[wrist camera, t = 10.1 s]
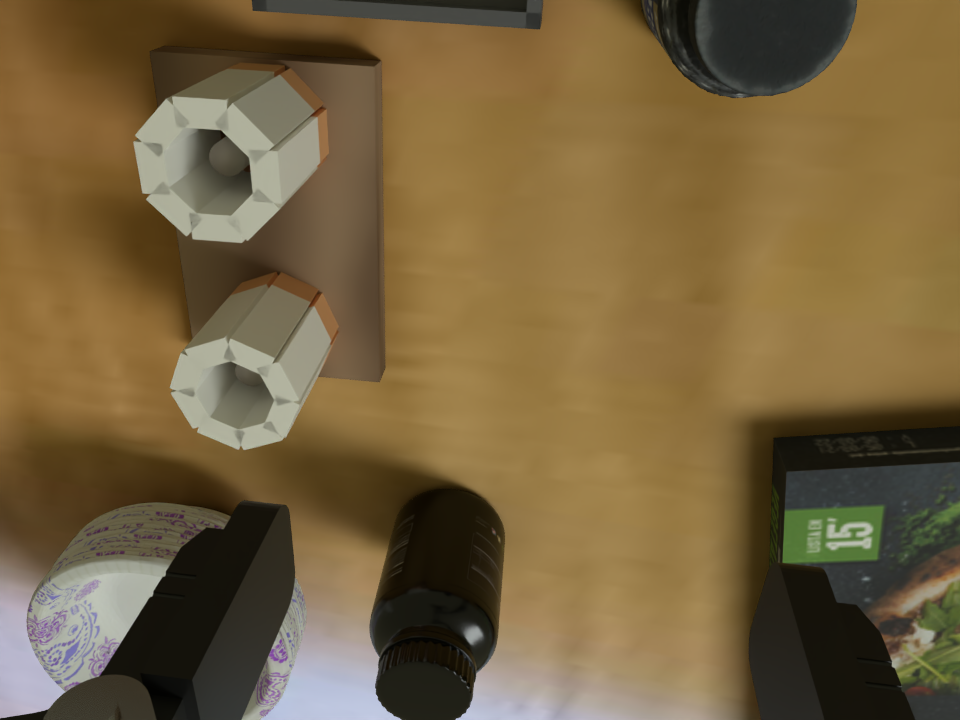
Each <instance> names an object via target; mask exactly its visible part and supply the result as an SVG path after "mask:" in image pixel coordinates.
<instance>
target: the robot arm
mask: <svg viewBox="0 0 960 720" xmlns="http://www.w3.org/2000/svg"><path fill="white" fill-rule="evenodd" d="M294 583H295V565H294V554H293V544H292V533H291V523H290V513H289V509H288V507H287V506H286V505H281V504H272V503H263V502H254V501H245V500H244V501H241V502H240V503H239V504H238V506H237V507H236V509H235V510H234V512H233V514H232V516H231V517H230V519H229V521H228V522H227V524H226V526H225V528H224V529H217V528H208V527H206V528H205V529H204V530H202V531H201V532H200V533H199V534H197V535H196V536H195V537H194V538H192V539H191V540H190V541H188V542H187V543H186V544H185V545H183V546H182V547H181V548H180V550H179V551H178V553H177V555H176V556H175V558H174V559H173V561H172V563H171V564H170V566H169V567H168V569H167V570H166V575H165V577H162V578H161V580H160V582H159V583H158V585H157V586H156V588H155V589H154V591H153V596H152V597H149V599H148V601H147V602H146V604H145V605H144V607H143V608H142V610H141V612H140V613H139V615H138V616H137V618H136V620H135V621H134V623H133V624H132V626H131V627H130V629H129V631H128V632H127V634H126V635H125V637H124V639H123V640H122V642H121V643H120V645H119V647H118V648H117V650H116V651H115V653H114V654H113V656H112V658H111V659H110V661H109V662H108V664H107V666H106V667H105V669H104V670H103V671H102V673H101V674H100V676H99V677H95V678H92V679H89V680H86V681H84V682H82V683H79V684H78V685H76V686H74V687H73V688H71V689H69V690H68V691H67V692H65V693H64V694H63V695H62V696H60V697H59V698H58V699H57V700H56V701H55V702H54V703H53V705H52V706H51V707H50V708H49V709H48V710H45V711H41V712H36V713H32V714H25V715H19V716H13V717H7V718H0V720H242V717H243V715H244V713H245V710H246V708H247V706H248V703H249V701H250V698H251V696H252V694H253V691H254V689H255V687H256V684H257V682H258V680H259V677H260V675H261V672H262V670H263V668H264V665H265V663H266V661H267V658H268V656H269V654H270V651H271V649H272V647H273V644H274V642H275V639H276V637H277V635H278V632H279V630H280V628H281V625H282V623H283V621H284V618H285V616H286V614H287V611H288V609H289V606H290V603H291V599H292V595H293V590H294ZM749 662H750V668H751V673H752V678H753V683H754V687H755V692H756V697H757V702H758V706H759V711H760V716H761V720H915V717H914V715H913V712H912V710H911V707H910V705H909V702H908V700H907V697H906V695H905V692H902V685H901V682H900V680H899V677H898V675H897V672H896V670H895V668H894V667H892V660H891V657H890V655H889V652H888V650H887V647H886V645H885V642H884V640H883V637H882V635H881V632H880V631H879V630H878V629H877V628H876V627H875V625H874V624H873V623H872V622H871V621H870V620H869V619H868V617H867V616H866V615H865V614H864V613H863V612H862V611H861V609H860V608H859V607H858V606H857V605H855V604H847V603H838V602H837V601H836V599H835V596H834V593H833V590H832V587H831V585H830V582H829V579H828V576H827V574H826V572H825V570H824V569H823V568H821V567H814V566H805V565H797V564H788V563H779V562H773V563H772V564H771V566H770V568H769V570H768V573H767V576H766V580H765V583H764V586H763V589H762V593H761V596H760V599H759V603H758V606H757V609H756V613H755V616H754V619H753V623H752V626H751V630H750V637H749Z"/></svg>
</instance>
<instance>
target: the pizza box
mask: <svg viewBox="0 0 960 720" xmlns="http://www.w3.org/2000/svg"><path fill="white" fill-rule="evenodd" d="M773 562H779V563H788V564H797V565H805V566H814V567H821V568H823V569H824V570H825V572H826V574H827V576H828V579H829V582H830V585H831V587H832V590H833V593H834V596H835V599H836V601H837V602H838V603H847V604H855V605H857V606H858V607H859V608H860V609H861V611H862V612H863V613H864V614H865V615H866V616H867V617H868V619H869V620H870V621H871V622H872V623H873V624H874V625H875V627H876V628H877V629H878V630H879V631H880V632H881V635H882V637H883V640H884V642H885V645H886V647H887V650H888V652H889V655H890V657H891V660H892V667H894V668H895V670H896V672H897V675H898V677H899V680H900V682H901V685H902V692H905V695H906V697H907V700H908V702H909V705H910V707H911V710H912V712H913V715H914V717H915V720H960V426H955V427H939V428H923V429H908V430H892V431H876V432H860V433H844V434H828V435H813V436H797V437H781V438H774V445H773V473H772V502H771V531H770V560H769V568H770V566H771V564H772V563H773Z"/></svg>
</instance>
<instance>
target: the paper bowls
mask: <svg viewBox="0 0 960 720" xmlns="http://www.w3.org/2000/svg"><path fill="white" fill-rule="evenodd" d="M230 517H231V516H228V515H226V514H224V513H221V512H218V511H215V510H211V509H207V508H203V507H196V506H186V505H180V504H172V503H159V502H153V503H140V504H135V505H130V506H125V507H121V508H118V509H115V510H113V511H110V512H107V513H105V514H103V515H101V516H99V517H97V518H96V519H94V520H93V521H91V522H90V523H88V524H87V525H86V526H85V527H84V528H83V529H82V530H80V532H79V533H78V534H77V535H76V536H75V537H74V538H73V540H72V541H71V542H70V544H69V545H68V546H67V548H66V549H65V550H64V551H63V553H62V554H61V555H60V557H58V559H57V561H56V562H55V563H54V565H53V567H52V569H51V570H50V571H49V573H48V574H47V575H46V576H45V578H44V579H43V580H42V581H41V583H40V584H39V585H38V587H37V589H36V590H35V592H34V594H33V596H32V599H31V602H30V604H29V608H28V613H27V631H28V636H29V639H30V642H31V645H32V648H33V650H34V652H35V655H36V656H37V658H38V660H39V662H40V664H41V665H42V666H43V667H44V670H45V671H46V672H47V673H48V674H49V676H50V677H51V678H52V679H53V680H54V681H55V682H56V683H57V684H58V685H59V686H60V687H61V688H62V689H63V690H64V691H65V692H67V691H68V690H69V689H71V688H73V687H74V686H76V685H78V684H79V683H82V682H84V681H86V680H89V679H92V678H95V677H99V676H100V674H101V673H102V671H103V670H104V669H105V667H106V666H107V664H108V662H109V661H110V659H111V658H112V656H113V654H114V653H115V651H116V650H117V648H118V647H119V645H120V643H121V642H122V640H123V639H124V637H125V635H126V634H127V632H128V631H129V629H130V627H131V626H132V624H133V623H134V621H135V620H136V618H137V616H138V615H139V613H140V612H141V610H142V608H143V607H144V605H145V604H146V602H147V601H148V599H149V597H152V596H153V591H154V589H155V588H156V586H157V585H158V583H159V582H160V580H161V578H162V577H165V575H166V570H167V569H168V567H169V566H170V564H171V563H172V561H173V559H174V558H175V556H176V555H177V553H178V551H179V550H180V548H181V547H182V546H183V545H185V544H186V543H187V542H188V541H190V540H191V539H192V538H194V537H195V536H196V535H197V534H199V533H200V532H201V531H202V530H204V529H205V528H206V527H208V528H217V529H224V528H225V526H226V524H227V522H228V521H229V519H230ZM305 625H306V606H305V600H304V595H303V593H302V591H301V587H300V585H299V584H298V581H297V579H296V578H295V583H294V590H293V595H292V599H291V603H290V606H289V609H288V611H287V614H286V616H285V618H284V621H283V623H282V625H281V628H280V630H279V632H278V635H277V637H276V639H275V642H274V644H273V647H272V649H271V651H270V654H269V656H268V658H267V661H266V663H265V665H264V668H263V670H262V672H261V675H260V677H259V680H258V682H257V684H256V687H255V689H254V691H253V694H252V696H251V698H250V701H249V703H248V706H247V708H246V710H245V713H244V715H243V717H242V720H260V719H261V718H263V717H264V716H266V715H267V714H268V712H270V711H271V710H272V709H273V708H274V706H275V705H276V704H277V703H278V702H279V700H280V699H281V697H282V695H283V693H284V691H285V688H286V685H287V683H288V680H289V677H290V673H291V670H292V668H293V666H294V662H295V659H296V655H297V652H298V650H299V647H300V643H301V640H302V636H303V632H304V628H305Z"/></svg>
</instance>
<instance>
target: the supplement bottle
mask: <svg viewBox="0 0 960 720" xmlns="http://www.w3.org/2000/svg"><path fill="white" fill-rule="evenodd" d="M504 547H505V532H504V527H503V524H502V522H501V519H500V517H499V516H498V514H497V513H496V511H495V510H494V509H493V508H492V507H491V506H490V505H489V504H488V503H487V502H485V501H484V500H482V499H481V498H479V497H477V496H475V495H473V494H471V493H468V492H465V491H461V490H456V489H436V490H431V491H427V492H424V493H422V494H419V495H417V496H415V497H414V498H412V499H411V500H410V501H408V502H407V503H406V504H405V505H404V506H403V508H402V509H401V510H400V512H399V514H398V516H397V518H396V521H395V524H394V528H393V531H392V535H391V539H390V543H389V547H388V551H387V555H386V558H385V562H384V566H383V570H382V574H381V578H380V582H379V586H378V590H377V594H376V598H375V602H374V606H373V610H372V614H371V619H370V637H371V641H372V644H373V646H374V649H375V651H376V653H377V654H378V656H379V657H380V658H379V664H378V668H379V670H378V675H377V679H376V684H375V688H376V695H377V696H378V700H379V701H380V702H381V704H382V706H383V707H385V708H386V710H387V711H388V712H390V713H392V714H393V715H394V716H396V717H399V718H400V719H402V720H455V719H456V718H459V717H461V716H462V714H464V713H466V710H467V709H468V708H469V707H470V704H471V701H472V697H473V688H474V682H475V679H476V673H477V672H479V671H480V670H481V669H482V668H483V667H484V666H485V665H486V664H487V663H488V661H489V660H490V659H491V657H492V655H493V653H494V651H495V648H496V645H497V638H498V629H499V616H500V602H501V589H502V576H503V562H504Z"/></svg>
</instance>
